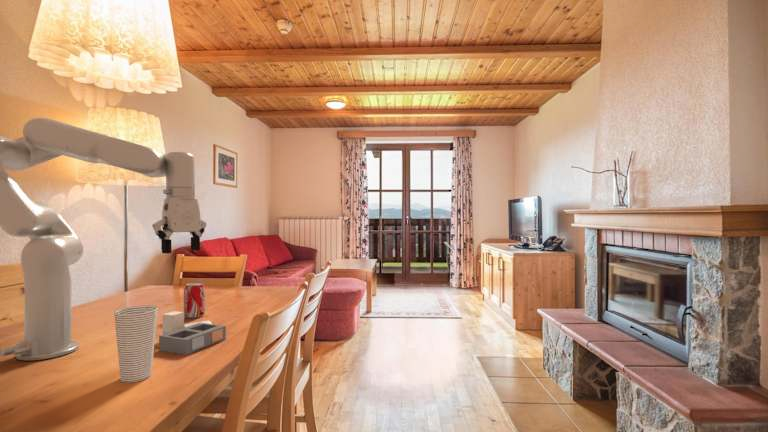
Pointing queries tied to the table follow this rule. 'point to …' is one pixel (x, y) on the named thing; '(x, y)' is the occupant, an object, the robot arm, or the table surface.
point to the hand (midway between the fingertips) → (181, 251)
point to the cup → (135, 341)
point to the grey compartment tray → (192, 338)
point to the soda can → (194, 300)
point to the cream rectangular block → (173, 321)
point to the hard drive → (196, 323)
